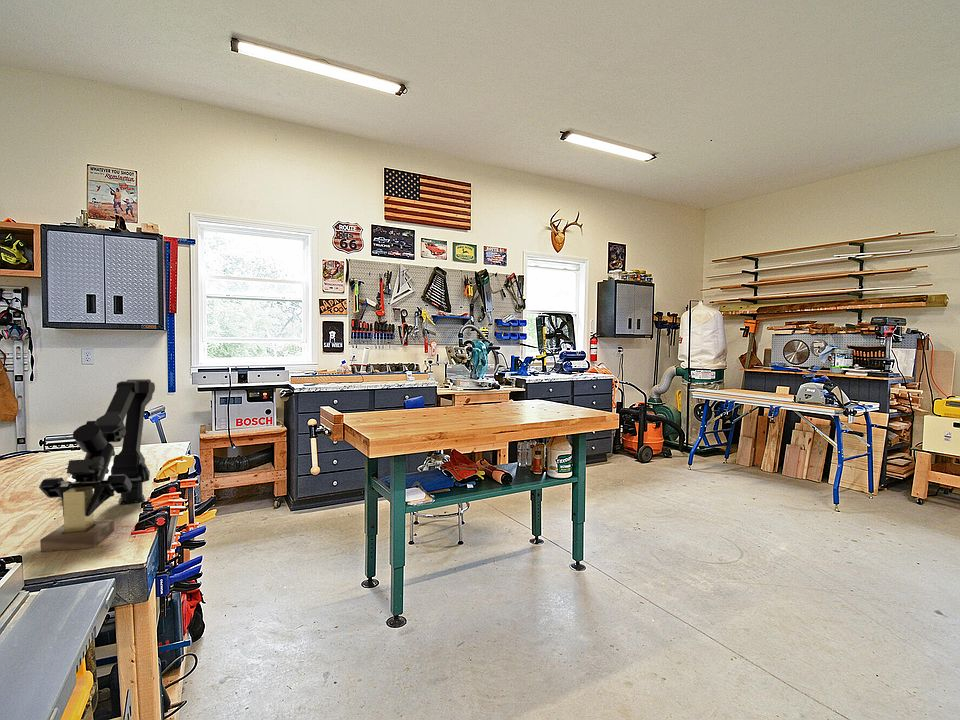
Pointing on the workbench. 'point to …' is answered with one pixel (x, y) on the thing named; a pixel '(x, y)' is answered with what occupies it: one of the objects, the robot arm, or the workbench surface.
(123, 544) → the workbench surface
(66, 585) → the workbench surface
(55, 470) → the workbench surface
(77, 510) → the pale yellow rectangular block
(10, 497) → the workbench surface
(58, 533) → the walnut block
